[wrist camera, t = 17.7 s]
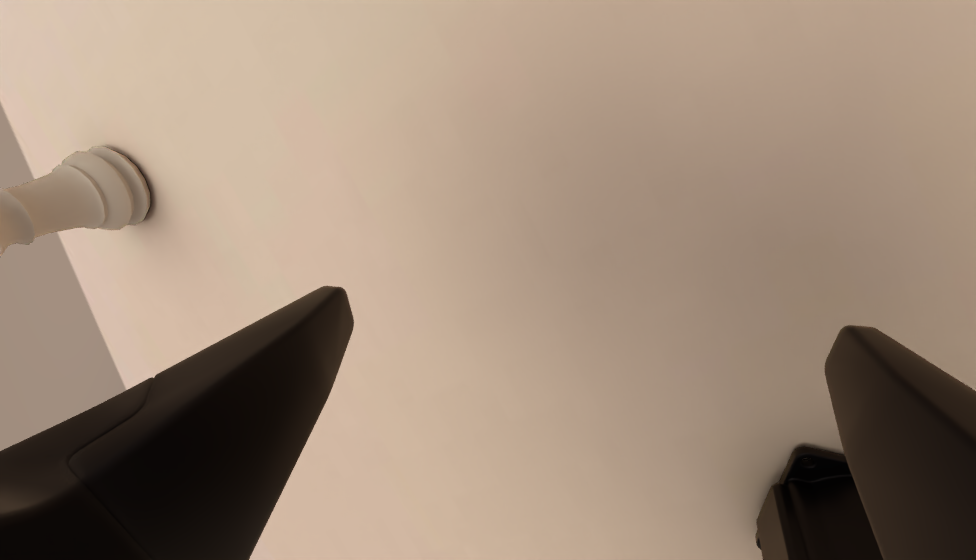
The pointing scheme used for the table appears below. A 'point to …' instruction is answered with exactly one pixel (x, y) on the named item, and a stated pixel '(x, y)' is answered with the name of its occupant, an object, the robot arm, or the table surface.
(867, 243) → the table surface
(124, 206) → the rook chess piece
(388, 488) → the table surface
